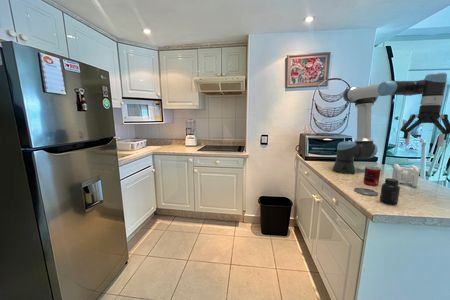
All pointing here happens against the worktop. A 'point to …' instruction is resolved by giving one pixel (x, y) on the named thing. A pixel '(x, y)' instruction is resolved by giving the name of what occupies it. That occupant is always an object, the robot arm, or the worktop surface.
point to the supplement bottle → (390, 192)
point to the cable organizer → (406, 174)
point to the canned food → (372, 175)
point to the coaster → (366, 191)
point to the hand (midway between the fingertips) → (422, 145)
